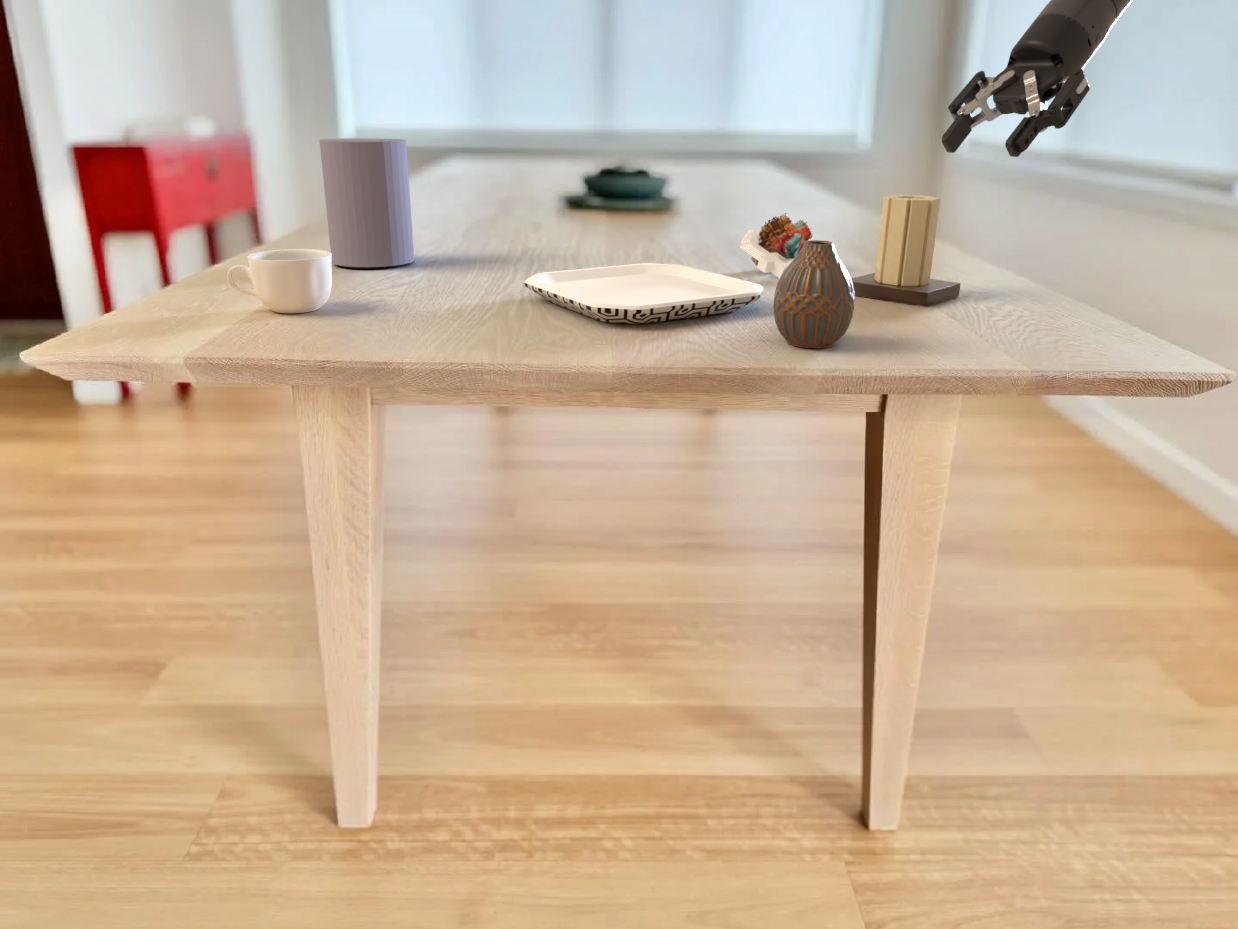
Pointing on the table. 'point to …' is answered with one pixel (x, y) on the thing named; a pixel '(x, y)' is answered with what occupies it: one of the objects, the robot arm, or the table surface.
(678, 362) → the table surface
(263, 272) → the teacup
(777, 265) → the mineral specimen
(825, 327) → the vase
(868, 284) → the peg stand
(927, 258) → the fluted hollow cylinder
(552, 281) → the plate
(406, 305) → the table surface
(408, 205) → the container
